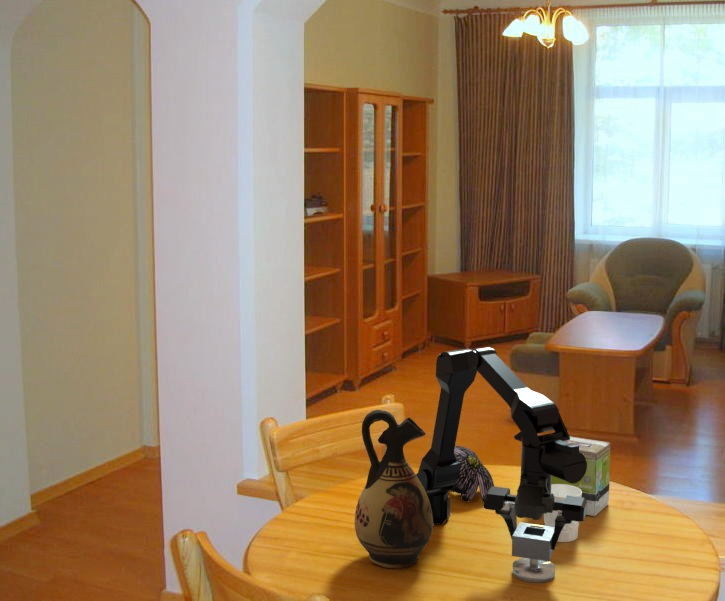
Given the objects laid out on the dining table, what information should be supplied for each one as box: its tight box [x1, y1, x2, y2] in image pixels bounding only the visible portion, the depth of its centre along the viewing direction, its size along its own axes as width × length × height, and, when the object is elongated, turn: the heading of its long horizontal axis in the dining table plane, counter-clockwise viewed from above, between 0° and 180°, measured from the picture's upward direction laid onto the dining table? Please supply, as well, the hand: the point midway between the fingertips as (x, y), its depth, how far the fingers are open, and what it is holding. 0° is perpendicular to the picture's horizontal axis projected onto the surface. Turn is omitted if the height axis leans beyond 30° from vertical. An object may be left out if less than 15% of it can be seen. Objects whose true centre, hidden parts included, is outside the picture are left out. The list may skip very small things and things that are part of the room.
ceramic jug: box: [346, 409, 434, 570], centre depth 191 cm, size 17×15×30 cm
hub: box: [511, 557, 556, 584], centre depth 186 cm, size 8×8×6 cm
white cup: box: [543, 484, 582, 543], centre depth 203 cm, size 8×8×10 cm
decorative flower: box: [452, 445, 495, 503], centre depth 228 cm, size 15×12×15 cm
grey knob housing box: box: [511, 521, 555, 562], centre depth 185 cm, size 7×7×4 cm
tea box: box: [548, 432, 611, 517], centre depth 221 cm, size 15×10×15 cm
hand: (534, 546), depth 186 cm, fingers closed on grey knob housing box, 7 cm apart
